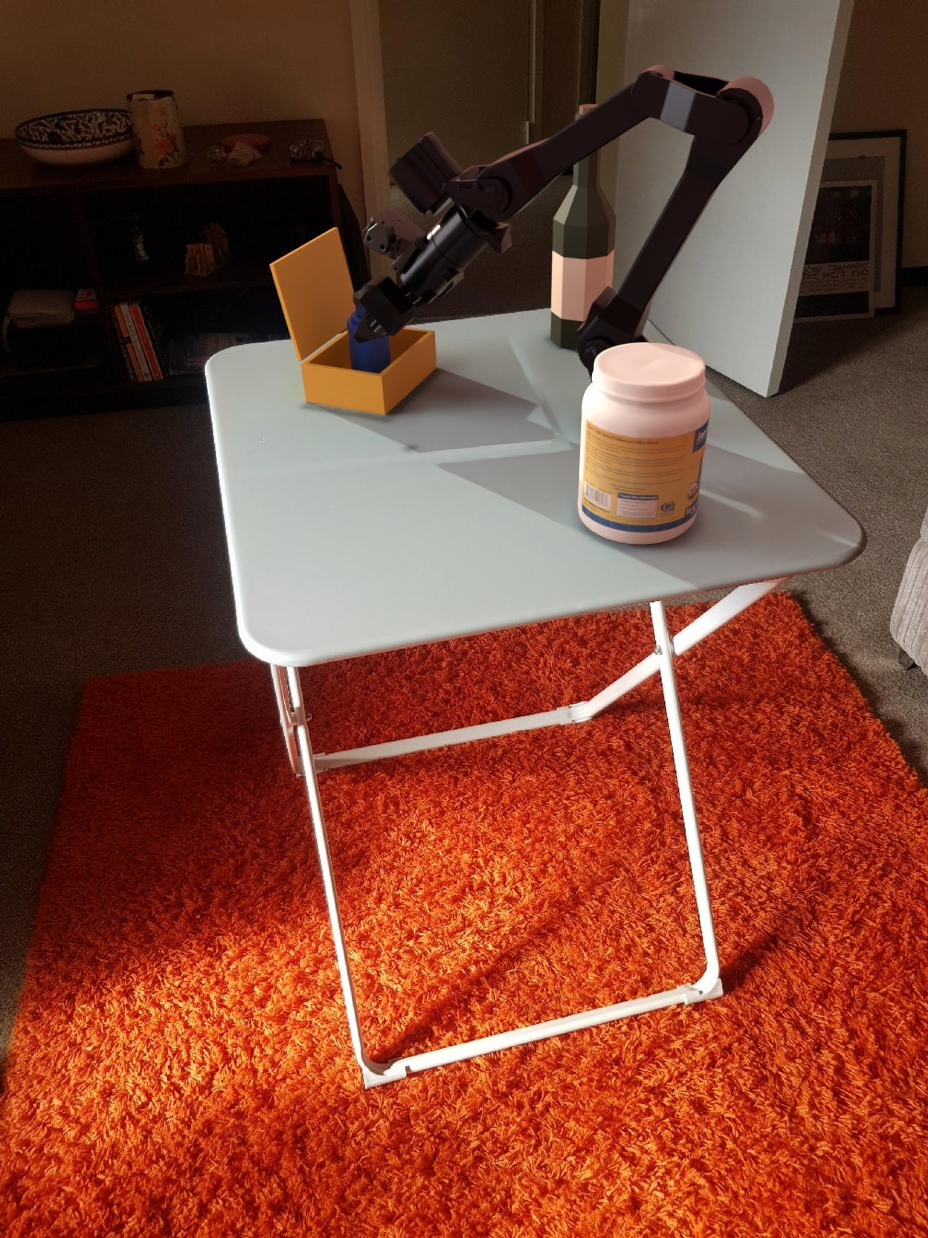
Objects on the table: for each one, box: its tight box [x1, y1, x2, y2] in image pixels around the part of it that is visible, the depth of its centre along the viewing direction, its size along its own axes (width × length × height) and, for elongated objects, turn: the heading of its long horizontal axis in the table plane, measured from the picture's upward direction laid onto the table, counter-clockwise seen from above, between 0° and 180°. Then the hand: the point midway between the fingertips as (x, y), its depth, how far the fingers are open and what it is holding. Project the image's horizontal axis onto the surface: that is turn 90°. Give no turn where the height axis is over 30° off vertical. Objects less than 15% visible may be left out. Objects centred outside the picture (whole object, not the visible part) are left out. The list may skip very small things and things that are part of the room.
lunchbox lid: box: [269, 227, 356, 362], centre depth 124 cm, size 12×15×4 cm
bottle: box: [346, 290, 391, 374], centre depth 124 cm, size 5×5×12 cm
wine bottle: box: [550, 103, 617, 351], centre depth 130 cm, size 8×8×30 cm
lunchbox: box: [300, 326, 438, 416], centre depth 127 cm, size 11×15×6 cm
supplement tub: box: [577, 342, 711, 545], centre depth 96 cm, size 12×12×17 cm
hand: (374, 326), depth 123 cm, fingers open, 9 cm apart
